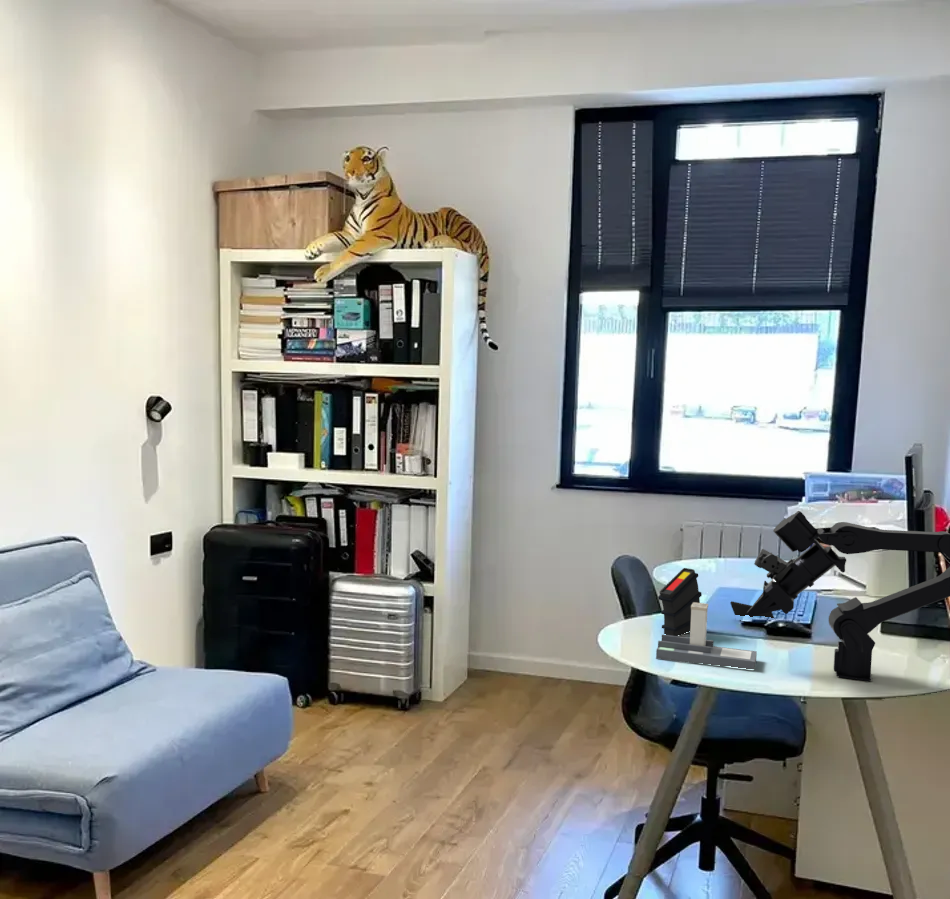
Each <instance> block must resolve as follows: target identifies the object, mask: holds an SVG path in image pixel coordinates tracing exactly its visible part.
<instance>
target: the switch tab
mask: <svg viewBox="0 0 950 899" xmlns="http://www.w3.org/2000/svg"><path fill="white" fill-rule="evenodd" d="M708 608H709V603H705V602H704V603H703V602H700V603H695V602H693V603H692V605H691V627H690V633H689V638H690V644H691V645H699V646H706V640H707V631H708V630H707V628H708V627H707V626H708V625H707V623H708V610H709V609H708Z"/></svg>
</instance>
